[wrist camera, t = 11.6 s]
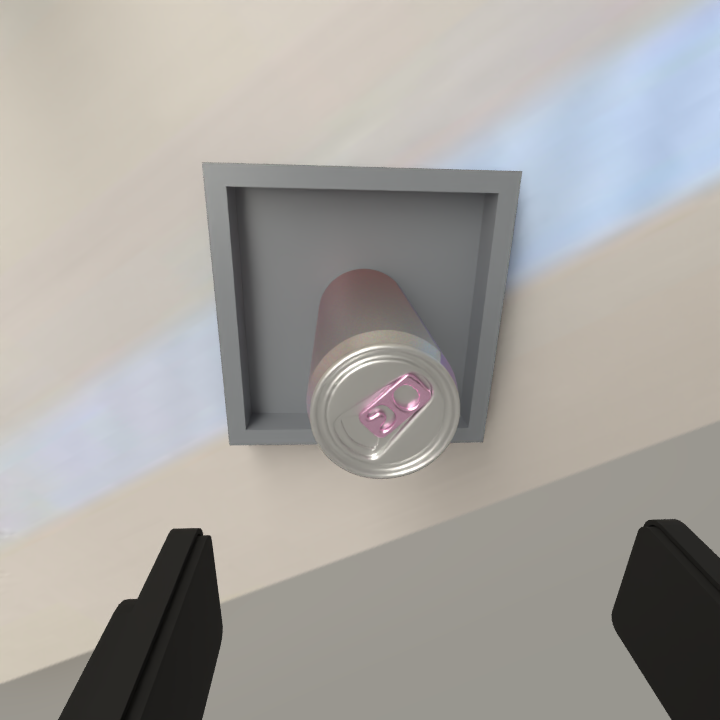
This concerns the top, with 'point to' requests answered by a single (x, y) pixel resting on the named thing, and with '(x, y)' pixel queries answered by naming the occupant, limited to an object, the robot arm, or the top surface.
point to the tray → (346, 253)
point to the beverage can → (378, 380)
